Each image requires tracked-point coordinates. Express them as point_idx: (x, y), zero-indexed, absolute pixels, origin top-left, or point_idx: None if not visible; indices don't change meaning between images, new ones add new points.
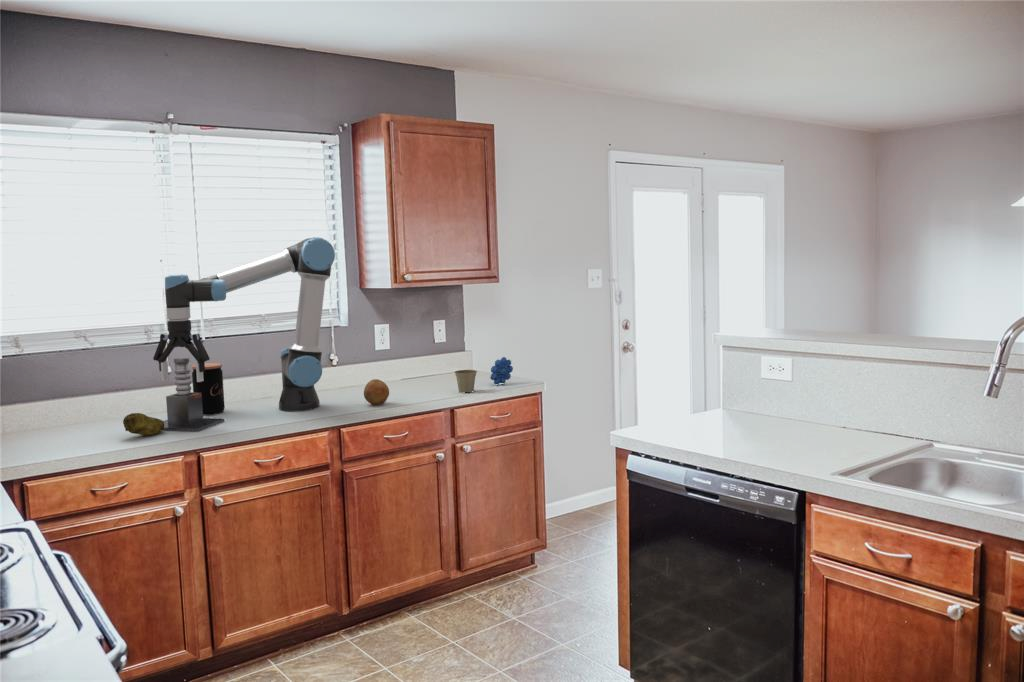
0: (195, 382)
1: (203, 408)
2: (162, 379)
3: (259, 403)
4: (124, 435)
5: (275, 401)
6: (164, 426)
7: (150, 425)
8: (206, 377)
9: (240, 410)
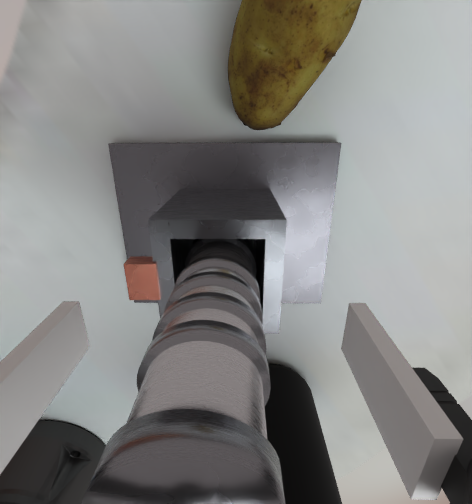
0: (305, 470)
1: None
2: (365, 311)
3: None
4: (374, 26)
5: None
6: (268, 162)
7: (241, 3)
8: None
9: None
